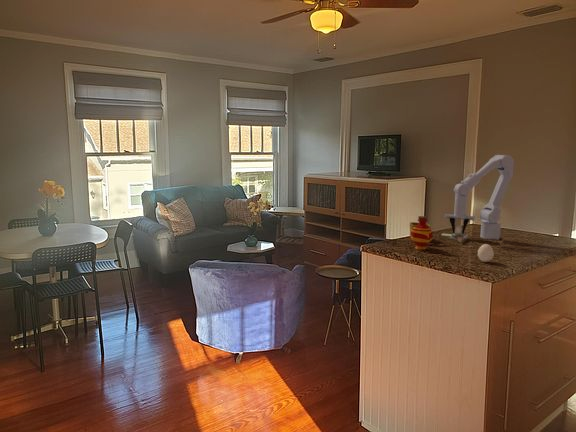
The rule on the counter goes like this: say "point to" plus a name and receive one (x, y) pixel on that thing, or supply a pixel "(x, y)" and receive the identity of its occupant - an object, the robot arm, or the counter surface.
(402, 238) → the counter surface
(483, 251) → the egg
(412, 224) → the flower pot
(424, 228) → the red and yellow vase
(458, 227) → the beige mushroom
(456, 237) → the board
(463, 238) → the rod with orange cap
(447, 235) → the pad
